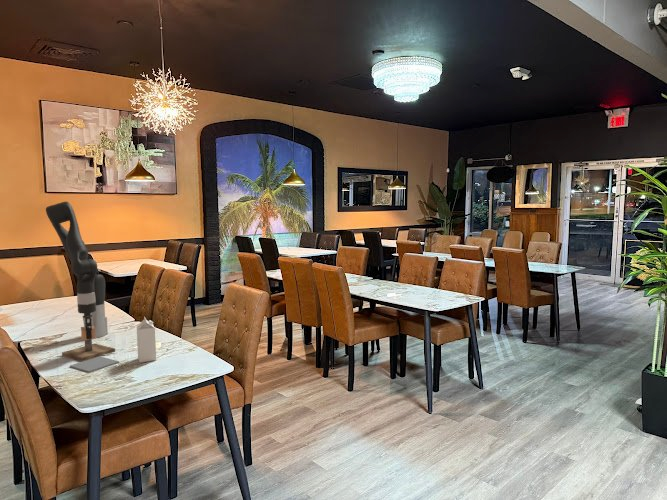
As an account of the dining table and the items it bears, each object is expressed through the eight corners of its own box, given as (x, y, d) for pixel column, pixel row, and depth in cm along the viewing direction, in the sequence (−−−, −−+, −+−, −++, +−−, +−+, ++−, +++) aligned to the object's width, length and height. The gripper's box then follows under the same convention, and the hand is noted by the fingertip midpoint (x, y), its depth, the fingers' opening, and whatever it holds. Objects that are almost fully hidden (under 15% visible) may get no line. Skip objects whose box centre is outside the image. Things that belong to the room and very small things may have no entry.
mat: (100, 357, 210) (99, 356, 210) (119, 362, 204) (119, 361, 204) (69, 366, 198) (69, 365, 198) (89, 372, 191) (89, 371, 191)
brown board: (94, 346, 227) (93, 328, 226) (115, 351, 219) (114, 333, 218) (62, 355, 213) (60, 336, 212) (82, 361, 205) (81, 341, 205)
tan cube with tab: (81, 337, 217) (80, 325, 216) (94, 335, 220) (94, 323, 219) (82, 340, 212) (81, 328, 211) (95, 338, 215) (94, 326, 214)
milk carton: (139, 363, 203) (137, 321, 201) (137, 358, 209) (136, 317, 208) (156, 360, 206) (154, 319, 205) (154, 355, 213) (152, 315, 211)
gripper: (76, 300, 218) (79, 334, 220) (77, 305, 206) (80, 342, 208) (94, 298, 222) (96, 332, 224) (96, 303, 210) (98, 339, 211)
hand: (88, 337), depth 216 cm, fingers closed on tan cube with tab, 5 cm apart
